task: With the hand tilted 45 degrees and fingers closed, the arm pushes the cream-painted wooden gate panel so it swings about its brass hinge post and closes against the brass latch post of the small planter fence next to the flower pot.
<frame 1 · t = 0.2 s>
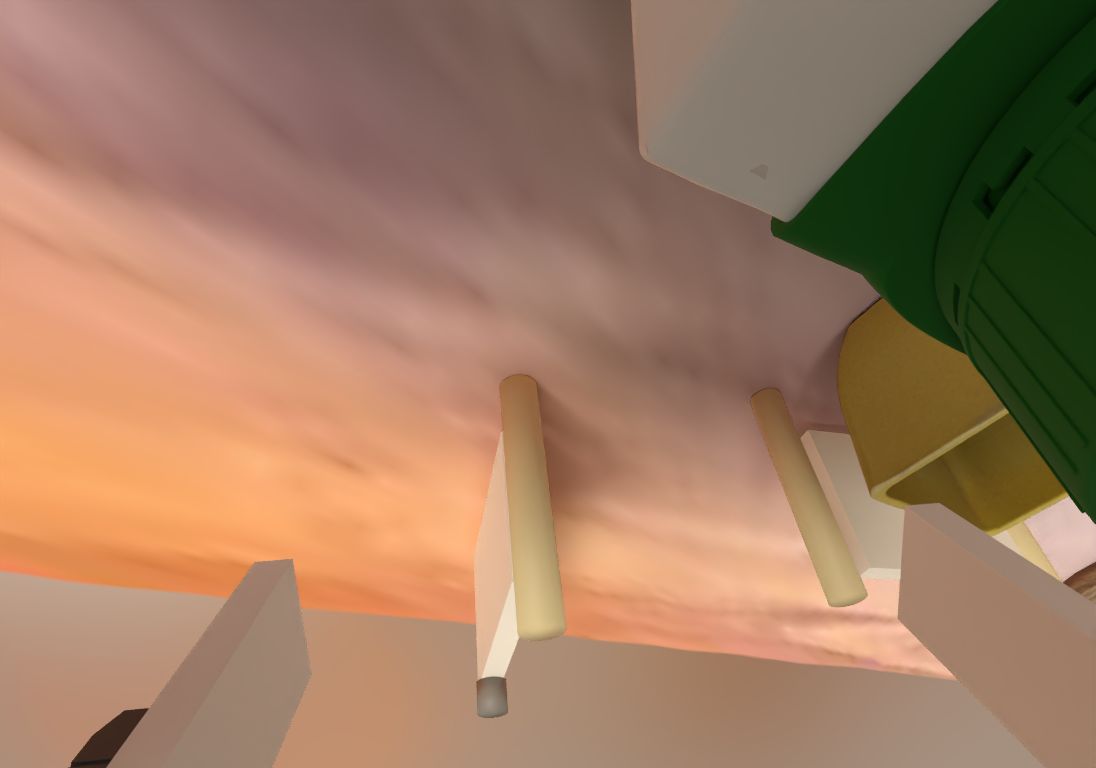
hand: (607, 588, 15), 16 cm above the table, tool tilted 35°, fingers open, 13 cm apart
fence: (518, 387, 33), on the table
gate: (501, 581, 35), point 6 cm above the table, hinge at -12.0°
flower pot: (919, 303, 32), on the table
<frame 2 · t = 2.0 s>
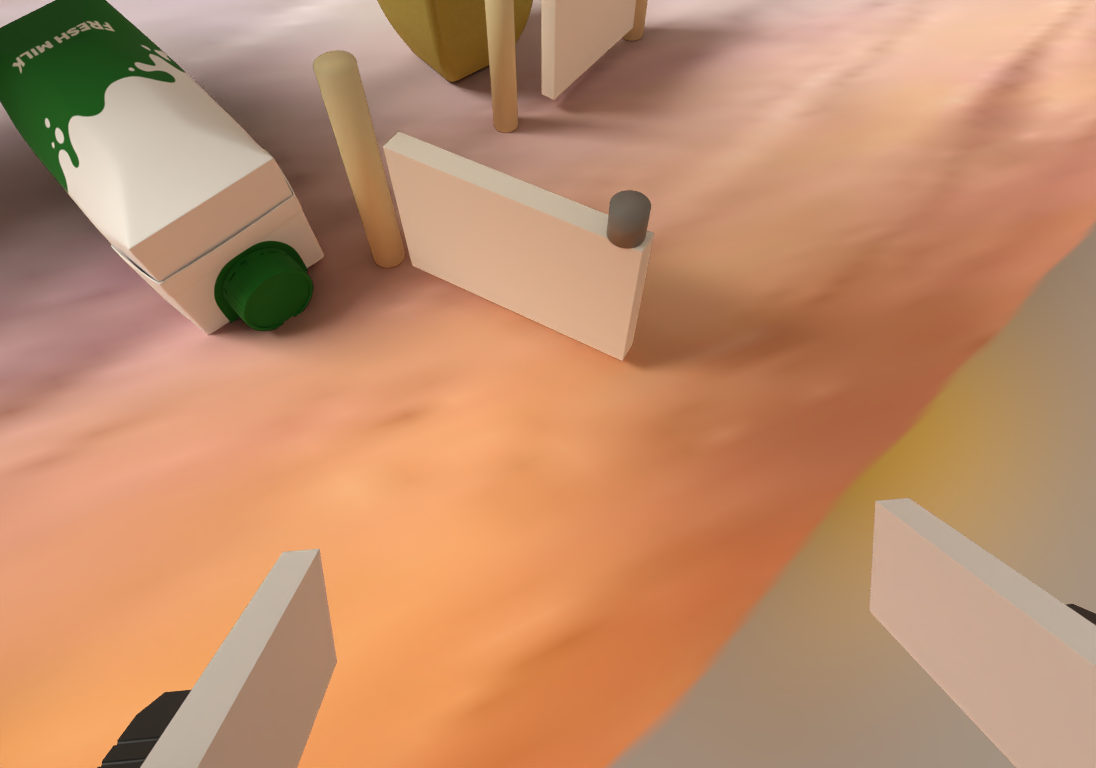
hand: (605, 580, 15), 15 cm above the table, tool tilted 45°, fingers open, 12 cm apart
fence: (389, 255, 39), on the table
gate: (515, 240, 32), point 6 cm above the table, hinge at -12.0°
flower pot: (459, 57, 49), on the table
milk carton: (67, 65, 40), point 5 cm above the table
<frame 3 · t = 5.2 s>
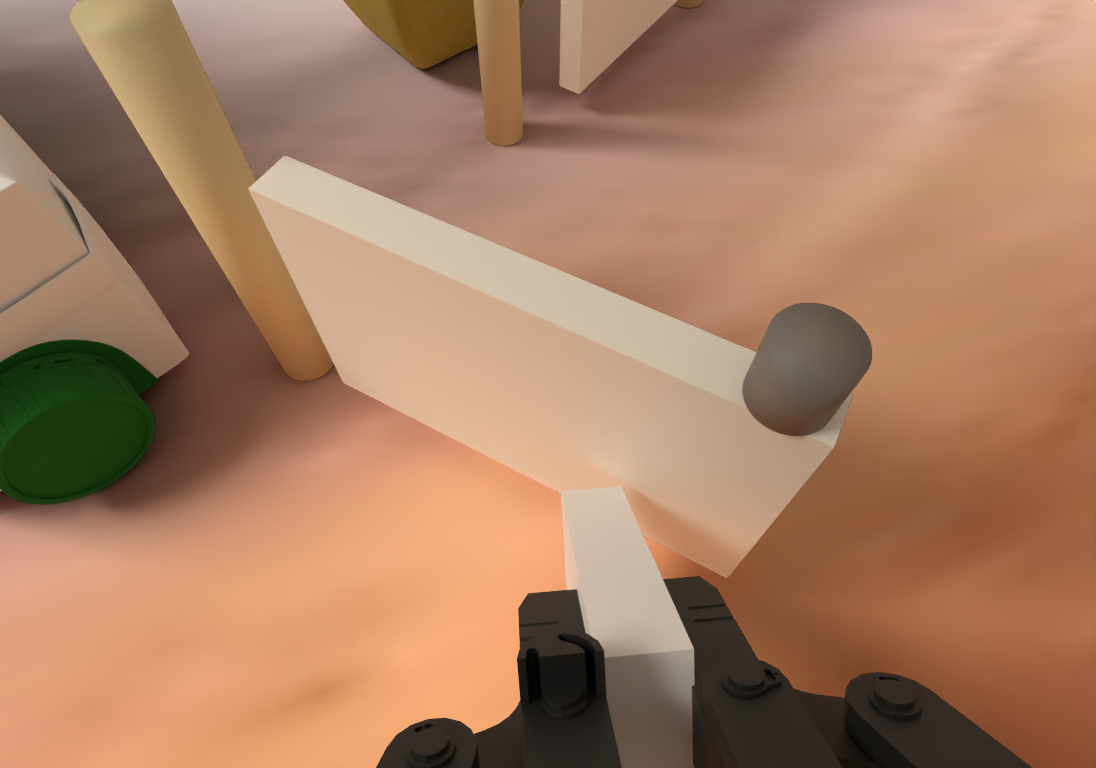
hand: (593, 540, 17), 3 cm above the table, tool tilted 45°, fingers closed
fence: (309, 358, 23), on the table
gate: (525, 369, 16), point 6 cm above the table, hinge at -12.0°, touching gripper
flower pot: (434, 33, 33), on the table
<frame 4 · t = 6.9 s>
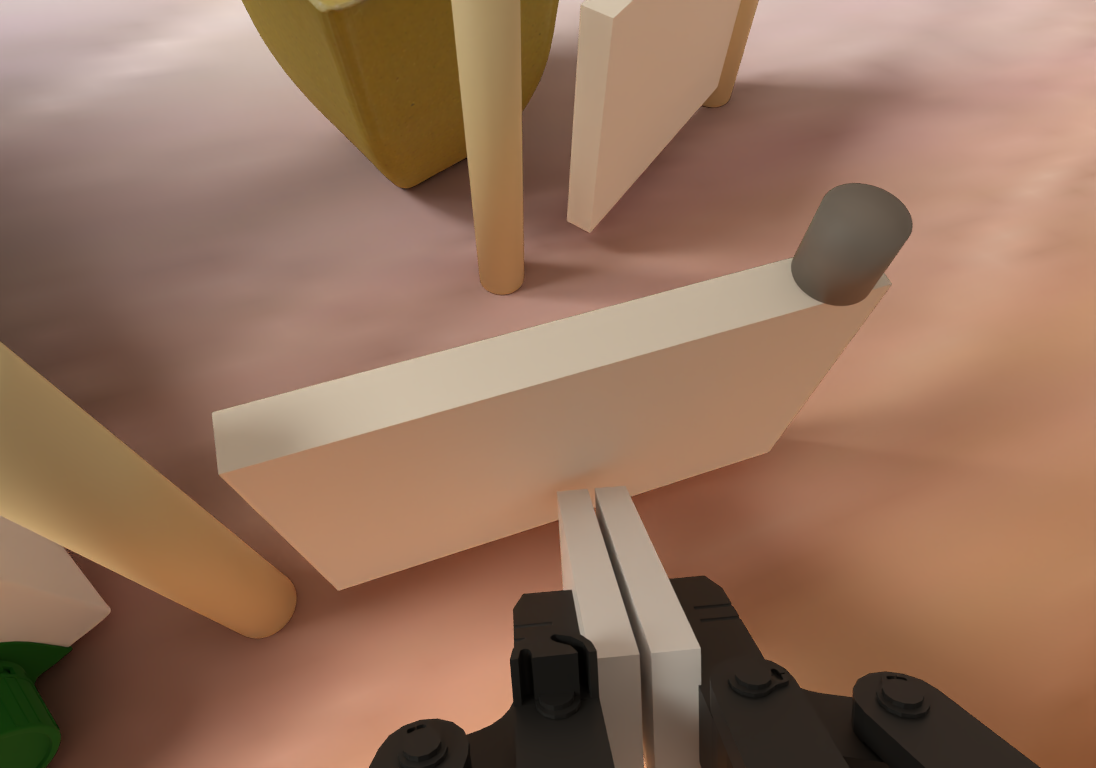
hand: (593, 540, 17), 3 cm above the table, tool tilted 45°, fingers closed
fence: (263, 604, 19), on the table
gate: (567, 422, 15), point 6 cm above the table, hinge at 35.2°, touching gripper
flower pot: (419, 137, 29), on the table
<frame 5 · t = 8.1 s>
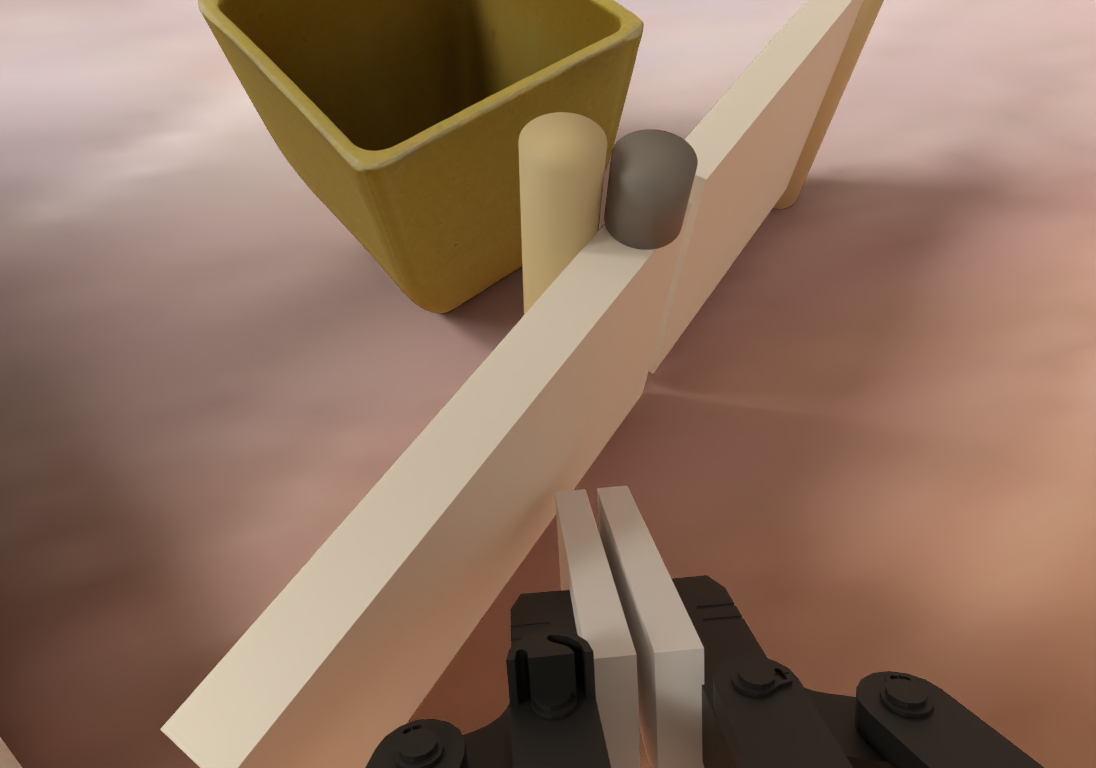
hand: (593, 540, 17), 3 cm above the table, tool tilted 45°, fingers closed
gate: (494, 481, 15), point 6 cm above the table, hinge at 72.0°, touching fence, gripper
flower pot: (454, 246, 26), on the table
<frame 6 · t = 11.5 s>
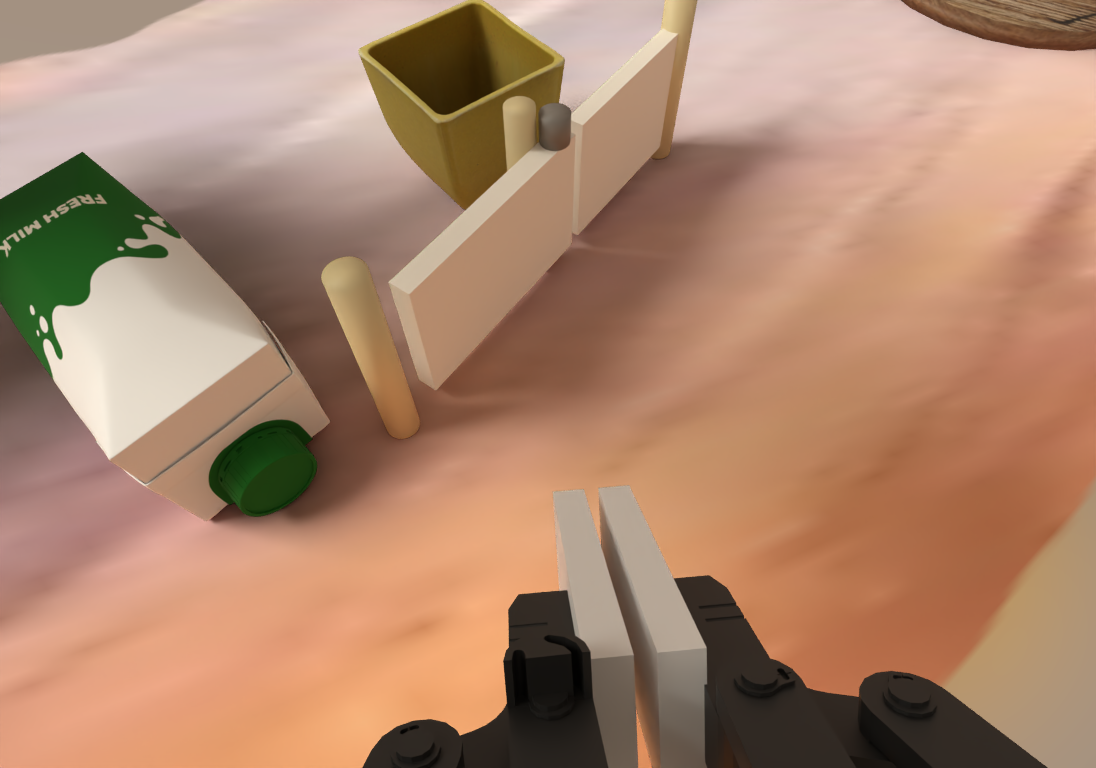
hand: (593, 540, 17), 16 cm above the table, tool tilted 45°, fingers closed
fence: (403, 423, 36), on the table
gate: (494, 249, 35), point 6 cm above the table, hinge at 72.0°
flower pot: (475, 179, 47), on the table
milk carton: (64, 230, 38), point 4 cm above the table
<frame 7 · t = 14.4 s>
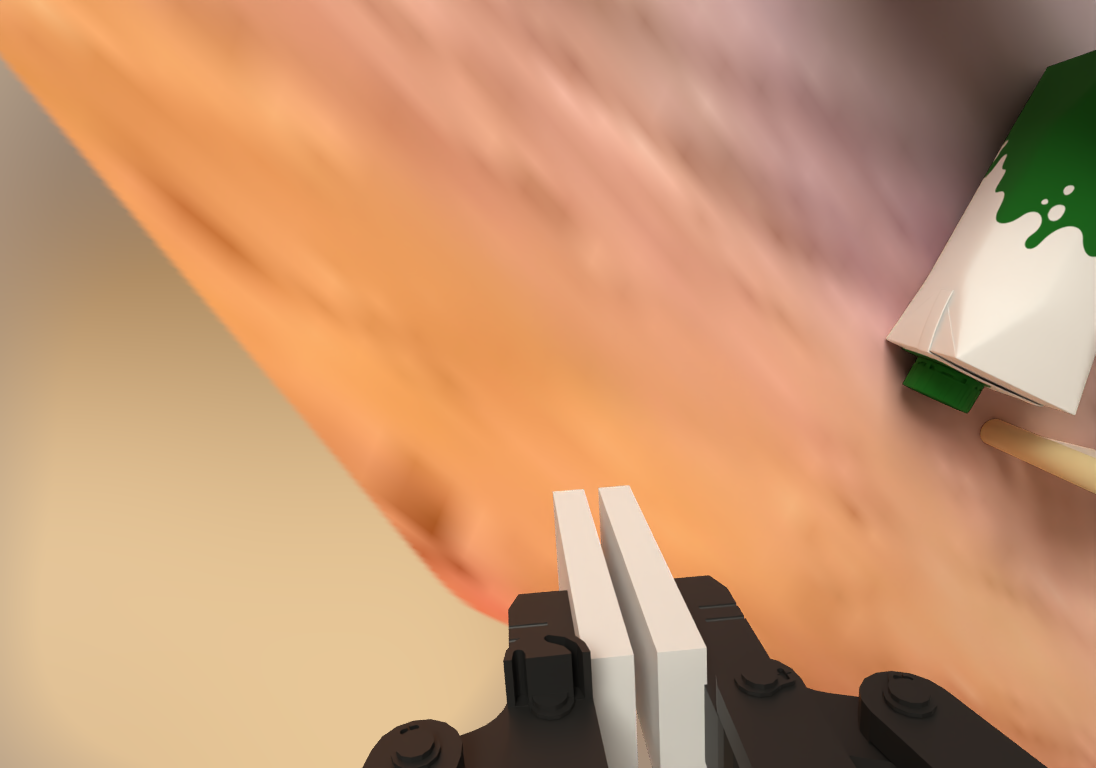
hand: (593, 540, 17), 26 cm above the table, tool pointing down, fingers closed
fence: (993, 431, 46), on the table
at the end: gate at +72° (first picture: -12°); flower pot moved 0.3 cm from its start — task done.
